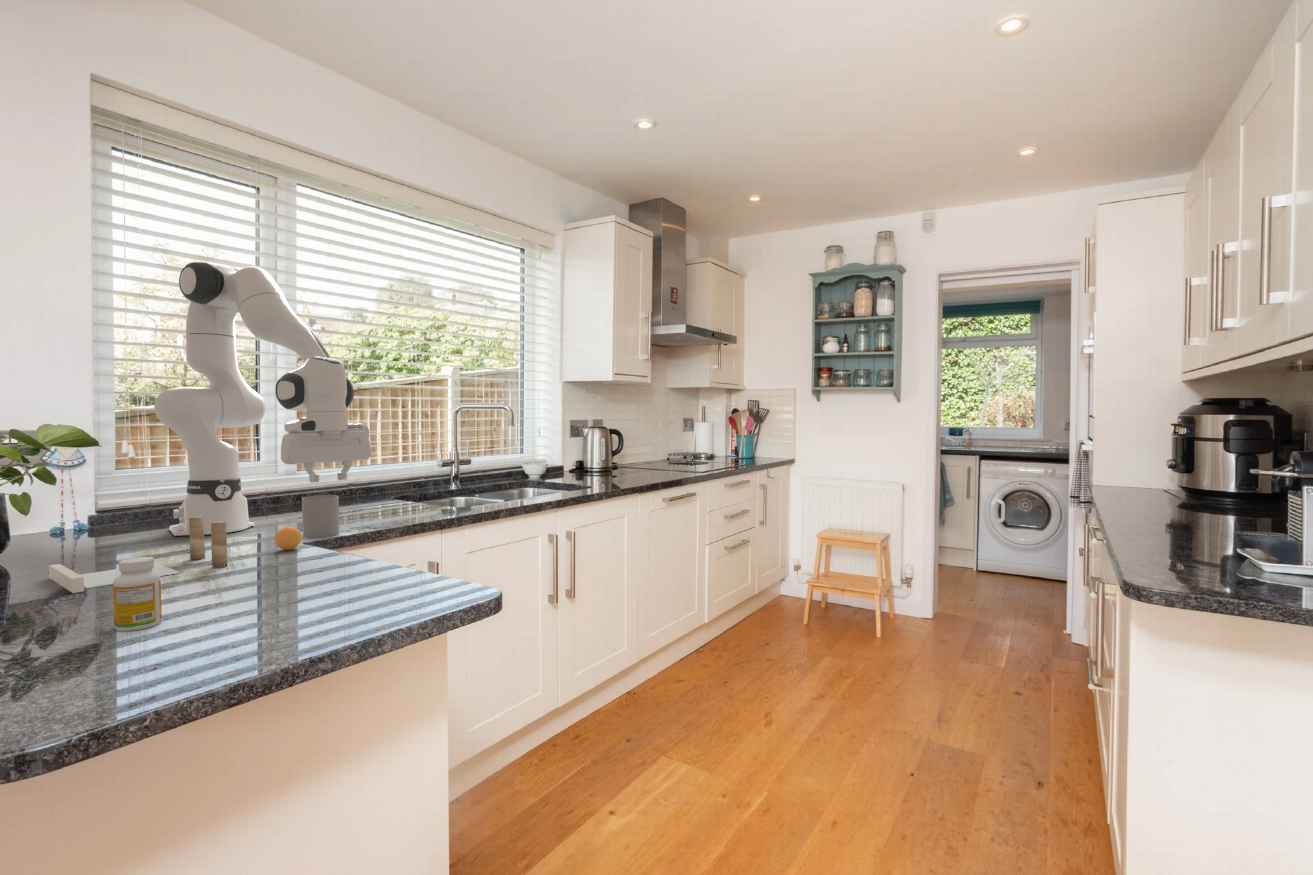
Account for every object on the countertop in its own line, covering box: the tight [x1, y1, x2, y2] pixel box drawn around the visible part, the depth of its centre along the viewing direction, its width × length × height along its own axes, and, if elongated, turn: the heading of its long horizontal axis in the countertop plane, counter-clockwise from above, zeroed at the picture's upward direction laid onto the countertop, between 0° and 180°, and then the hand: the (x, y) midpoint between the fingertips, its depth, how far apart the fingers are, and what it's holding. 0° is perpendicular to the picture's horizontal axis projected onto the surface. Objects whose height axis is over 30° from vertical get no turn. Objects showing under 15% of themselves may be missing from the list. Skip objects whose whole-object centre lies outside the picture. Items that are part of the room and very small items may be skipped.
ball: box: [274, 525, 303, 551], centre depth 149 cm, size 5×5×5 cm
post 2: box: [210, 522, 228, 568], centre depth 132 cm, size 3×3×9 cm
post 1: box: [189, 517, 206, 560], centre depth 140 cm, size 3×3×9 cm
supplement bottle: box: [112, 556, 163, 632], centre depth 93 cm, size 5×5×10 cm
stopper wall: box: [48, 563, 85, 594], centre depth 118 cm, size 18×2×2 cm, turn 53°
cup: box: [301, 494, 340, 539], centre depth 168 cm, size 8×8×10 cm
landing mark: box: [80, 562, 181, 589], centre depth 125 cm, size 14×14×1 cm
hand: (328, 480), depth 156 cm, fingers open, 5 cm apart
